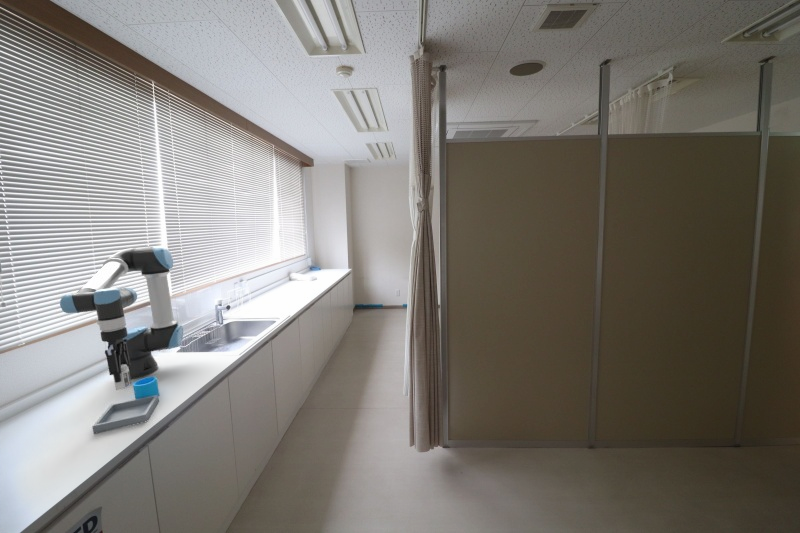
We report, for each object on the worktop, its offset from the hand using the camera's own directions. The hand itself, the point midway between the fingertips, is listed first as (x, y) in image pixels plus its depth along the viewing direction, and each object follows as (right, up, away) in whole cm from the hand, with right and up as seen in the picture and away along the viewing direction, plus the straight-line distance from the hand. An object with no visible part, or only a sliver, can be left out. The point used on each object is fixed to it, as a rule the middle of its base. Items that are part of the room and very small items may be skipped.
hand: (123, 385), depth 126 cm
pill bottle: (0, -1, 0) cm, 1 cm away
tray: (+1, -13, +2) cm, 13 cm away
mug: (-3, -11, +17) cm, 20 cm away
